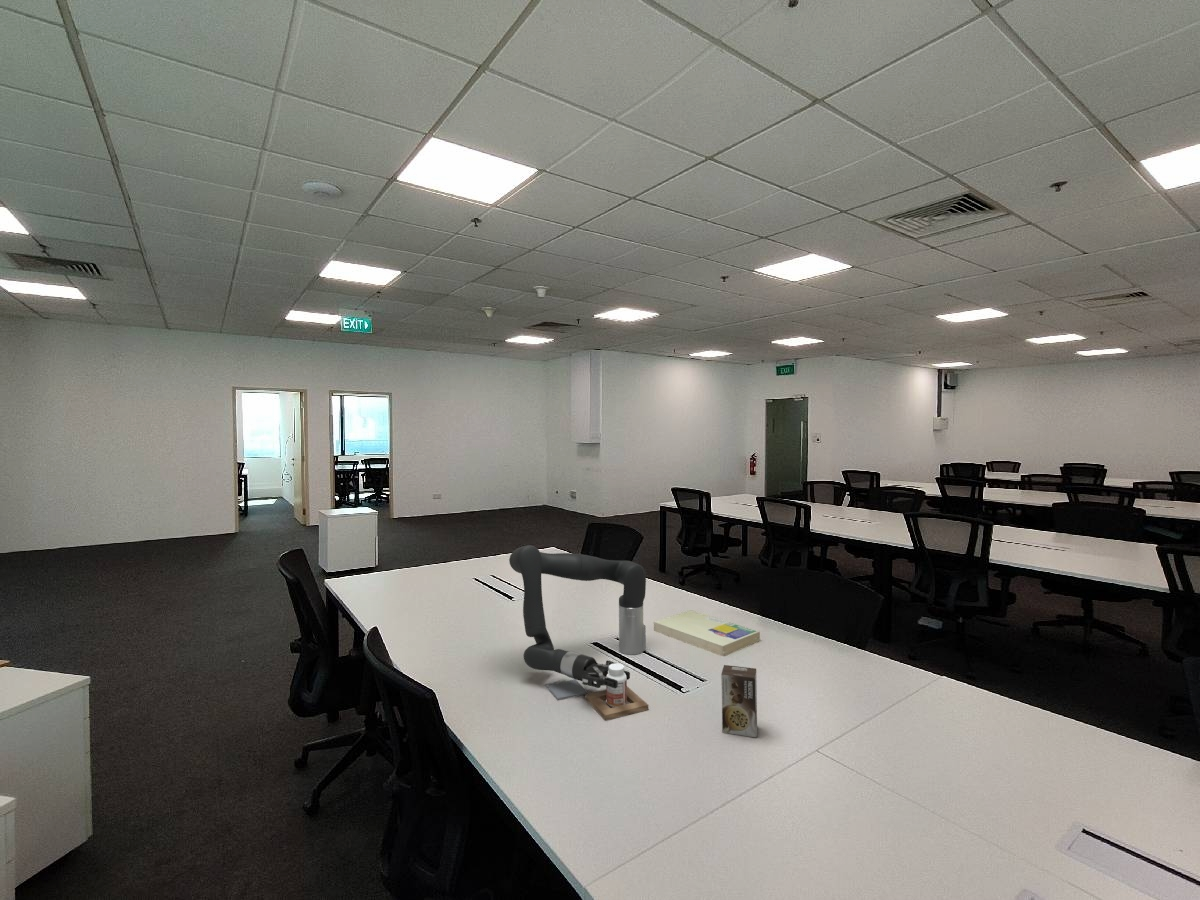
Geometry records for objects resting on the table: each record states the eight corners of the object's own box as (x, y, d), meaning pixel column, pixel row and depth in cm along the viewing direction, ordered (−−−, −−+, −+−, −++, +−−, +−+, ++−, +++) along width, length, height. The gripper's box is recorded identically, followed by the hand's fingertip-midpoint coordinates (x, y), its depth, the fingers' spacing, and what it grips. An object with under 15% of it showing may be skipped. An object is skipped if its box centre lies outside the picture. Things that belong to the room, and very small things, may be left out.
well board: (626, 690, 169) (626, 685, 169) (648, 709, 156) (648, 704, 156) (585, 699, 163) (585, 694, 163) (605, 720, 150) (605, 715, 150)
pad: (575, 680, 175) (575, 679, 175) (587, 693, 166) (587, 691, 166) (546, 686, 171) (546, 685, 171) (557, 700, 162) (557, 698, 162)
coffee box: (757, 726, 147) (757, 668, 146) (756, 738, 140) (756, 677, 140) (723, 720, 150) (723, 663, 149) (721, 732, 143) (721, 673, 143)
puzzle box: (691, 619, 237) (652, 631, 222) (691, 609, 237) (652, 620, 222) (761, 643, 209) (722, 658, 194) (761, 631, 209) (722, 646, 194)
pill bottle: (615, 695, 164) (615, 660, 164) (631, 702, 160) (631, 666, 159) (602, 703, 159) (601, 666, 159) (617, 710, 155) (617, 672, 155)
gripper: (564, 662, 162) (609, 676, 152) (591, 647, 173) (635, 659, 164) (564, 687, 162) (609, 702, 152) (591, 670, 173) (635, 683, 164)
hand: (623, 680), depth 158 cm, fingers closed on pill bottle, 6 cm apart
